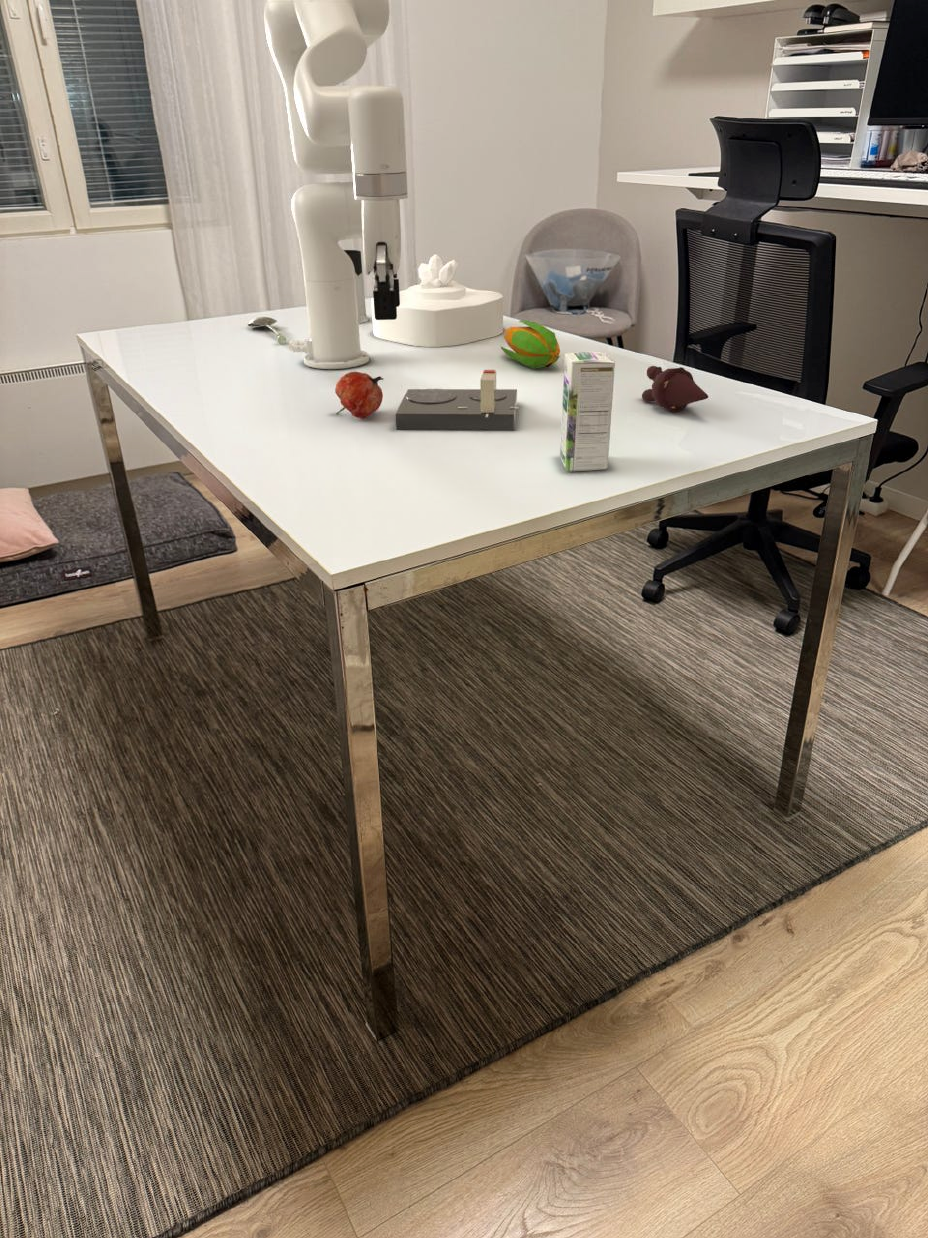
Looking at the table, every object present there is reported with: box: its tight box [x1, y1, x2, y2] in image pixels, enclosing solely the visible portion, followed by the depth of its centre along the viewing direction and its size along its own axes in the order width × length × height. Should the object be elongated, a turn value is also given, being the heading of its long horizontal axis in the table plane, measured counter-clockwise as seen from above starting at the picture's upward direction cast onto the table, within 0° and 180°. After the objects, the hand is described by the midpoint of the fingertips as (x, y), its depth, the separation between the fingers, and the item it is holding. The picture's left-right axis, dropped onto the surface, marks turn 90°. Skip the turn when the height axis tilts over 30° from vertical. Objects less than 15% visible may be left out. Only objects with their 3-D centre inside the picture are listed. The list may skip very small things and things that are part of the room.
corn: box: [500, 319, 561, 370], centre depth 175 cm, size 7×8×20 cm
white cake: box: [370, 253, 504, 348], centre depth 198 cm, size 25×25×16 cm
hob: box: [395, 388, 520, 431], centre depth 145 cm, size 19×16×3 cm
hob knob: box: [479, 369, 497, 413], centre depth 140 cm, size 5×2×5 cm, turn 174°
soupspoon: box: [247, 316, 287, 345], centre depth 203 cm, size 22×3×7 cm
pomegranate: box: [334, 371, 384, 419], centre depth 146 cm, size 7×7×10 cm
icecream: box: [641, 365, 709, 413], centre depth 145 cm, size 7×7×15 cm
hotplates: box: [407, 388, 507, 404], centre depth 147 cm, size 16×8×1 cm, turn 85°
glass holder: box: [343, 249, 369, 324], centre depth 214 cm, size 9×14×15 cm, turn 171°
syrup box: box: [559, 351, 616, 472], centre depth 122 cm, size 6×6×14 cm
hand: (387, 312), depth 138 cm, fingers open, 9 cm apart
